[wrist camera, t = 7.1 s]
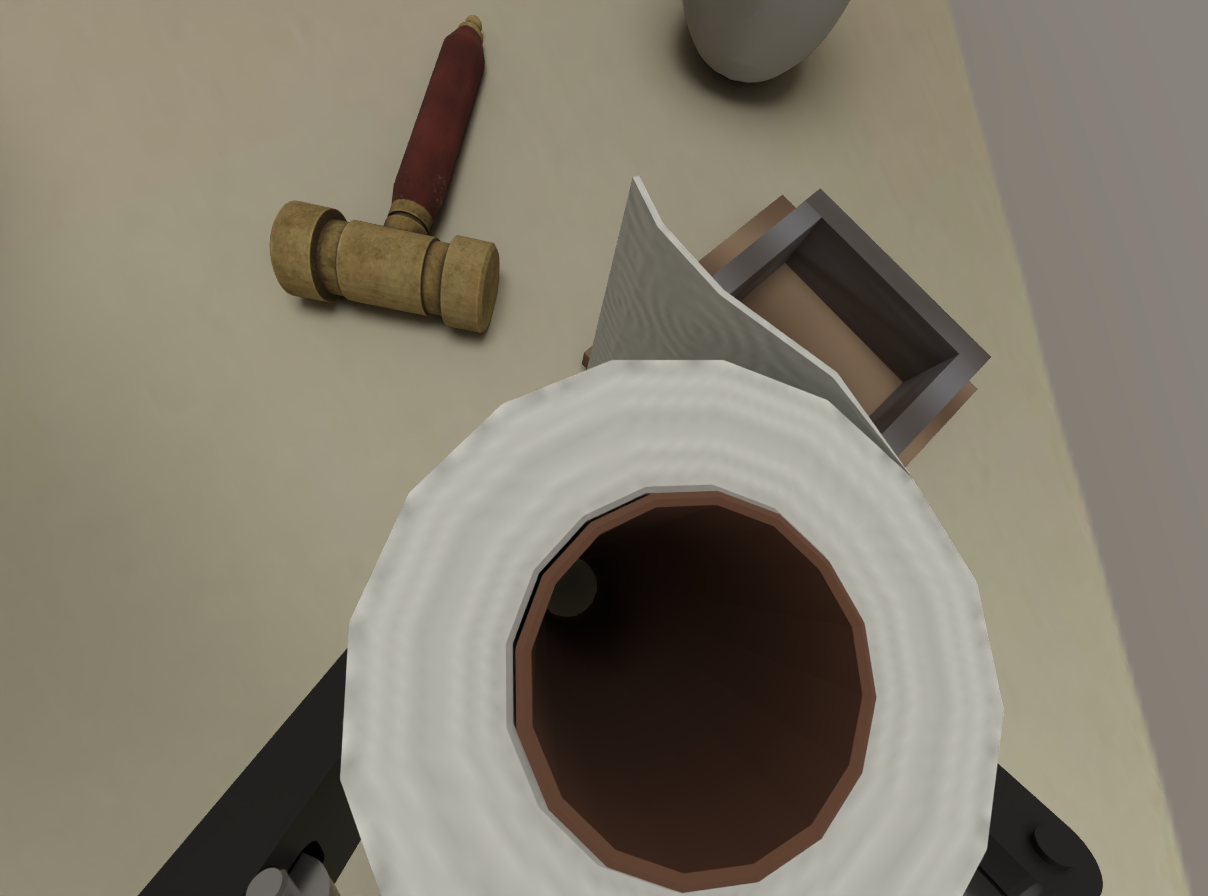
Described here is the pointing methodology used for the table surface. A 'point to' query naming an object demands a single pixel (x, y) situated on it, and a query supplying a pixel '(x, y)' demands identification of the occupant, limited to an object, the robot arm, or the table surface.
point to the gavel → (403, 219)
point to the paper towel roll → (673, 633)
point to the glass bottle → (759, 33)
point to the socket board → (852, 315)
